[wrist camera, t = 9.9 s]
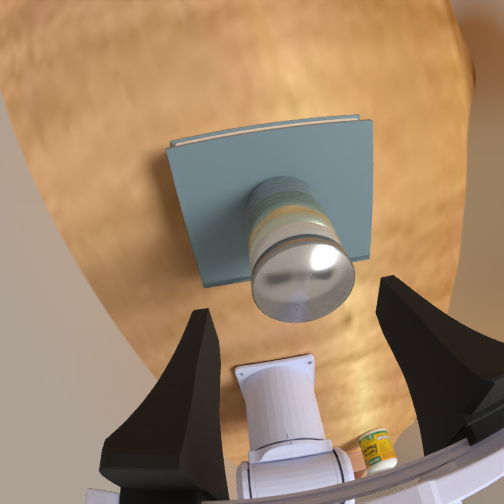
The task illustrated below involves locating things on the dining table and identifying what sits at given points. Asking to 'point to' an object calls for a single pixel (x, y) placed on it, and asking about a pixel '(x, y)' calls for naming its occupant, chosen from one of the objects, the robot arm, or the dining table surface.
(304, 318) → the tea tin
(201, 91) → the dining table surface
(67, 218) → the dining table surface
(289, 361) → the robot arm
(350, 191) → the hardcover book
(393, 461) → the supplement bottle
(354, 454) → the open box
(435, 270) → the dining table surface
